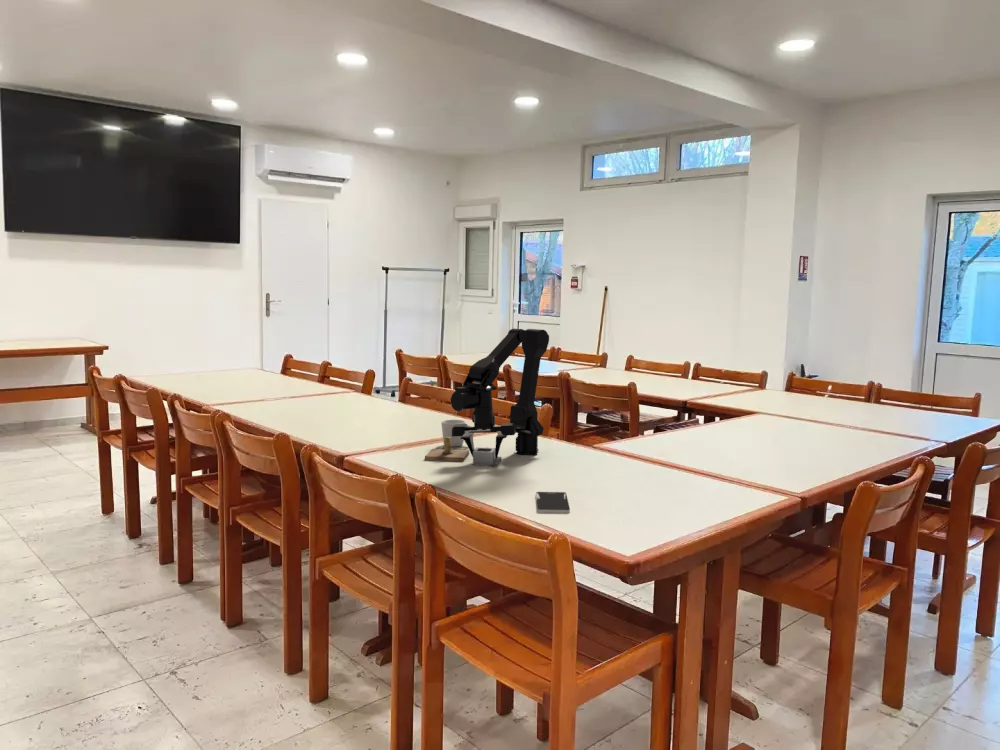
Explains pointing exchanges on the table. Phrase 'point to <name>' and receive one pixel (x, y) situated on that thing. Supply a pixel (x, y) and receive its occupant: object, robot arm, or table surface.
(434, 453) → the wooden peg board
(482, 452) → the end link
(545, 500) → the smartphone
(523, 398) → the robot arm
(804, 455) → the table surface
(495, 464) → the grey long bar
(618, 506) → the table surface
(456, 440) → the cup
